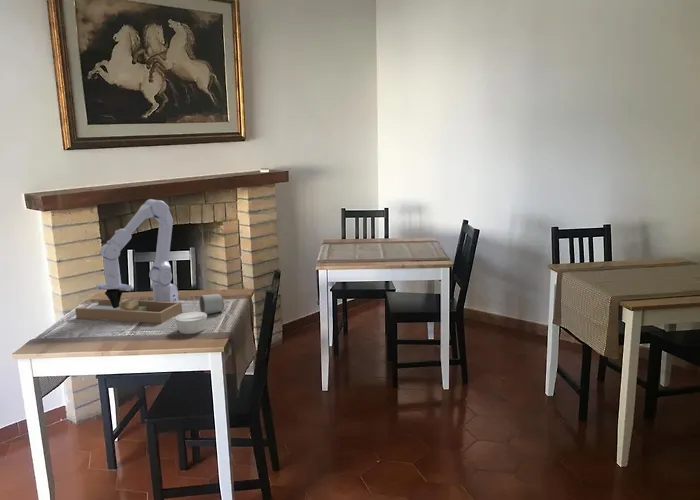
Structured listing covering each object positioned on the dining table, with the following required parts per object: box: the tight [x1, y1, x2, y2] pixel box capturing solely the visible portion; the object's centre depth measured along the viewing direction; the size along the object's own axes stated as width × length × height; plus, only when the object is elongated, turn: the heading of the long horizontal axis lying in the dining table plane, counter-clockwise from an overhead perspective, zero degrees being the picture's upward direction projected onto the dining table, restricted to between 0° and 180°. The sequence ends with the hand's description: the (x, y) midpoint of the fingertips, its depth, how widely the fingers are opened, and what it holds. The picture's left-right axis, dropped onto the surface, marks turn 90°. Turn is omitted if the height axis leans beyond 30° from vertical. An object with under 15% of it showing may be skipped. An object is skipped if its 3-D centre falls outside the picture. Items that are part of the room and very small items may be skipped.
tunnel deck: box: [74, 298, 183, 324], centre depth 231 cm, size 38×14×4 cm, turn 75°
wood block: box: [119, 298, 139, 311], centre depth 230 cm, size 5×5×4 cm
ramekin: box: [174, 311, 208, 335], centre depth 210 cm, size 11×11×5 cm
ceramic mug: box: [199, 293, 225, 315], centre depth 231 cm, size 11×8×8 cm
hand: (115, 307), depth 232 cm, fingers closed
